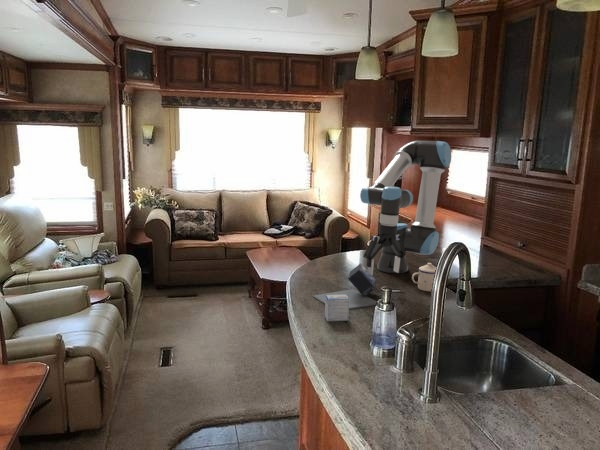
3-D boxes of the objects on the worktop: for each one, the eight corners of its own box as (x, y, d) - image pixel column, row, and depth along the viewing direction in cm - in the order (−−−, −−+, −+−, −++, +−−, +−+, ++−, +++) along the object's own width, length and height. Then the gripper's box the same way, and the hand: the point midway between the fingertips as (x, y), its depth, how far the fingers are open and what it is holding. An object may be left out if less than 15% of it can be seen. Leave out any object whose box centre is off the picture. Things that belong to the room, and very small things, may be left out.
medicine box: (345, 316, 176) (346, 294, 174) (348, 321, 172) (349, 298, 170) (324, 317, 175) (325, 294, 173) (327, 322, 170) (328, 299, 169)
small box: (376, 288, 193) (358, 269, 192) (364, 298, 194) (347, 279, 194) (377, 280, 203) (360, 262, 203) (366, 289, 205) (349, 271, 204)
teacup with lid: (434, 285, 215) (436, 260, 213) (441, 292, 206) (443, 266, 204) (408, 285, 214) (410, 260, 212) (414, 292, 205) (416, 266, 203)
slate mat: (353, 290, 205) (353, 289, 205) (378, 304, 190) (379, 302, 189) (313, 296, 196) (313, 295, 196) (336, 311, 180) (336, 310, 180)
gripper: (406, 221, 206) (400, 268, 210) (358, 223, 194) (353, 272, 198) (417, 225, 199) (412, 273, 204) (368, 227, 188) (363, 278, 192)
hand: (383, 273), depth 201 cm, fingers open, 13 cm apart
